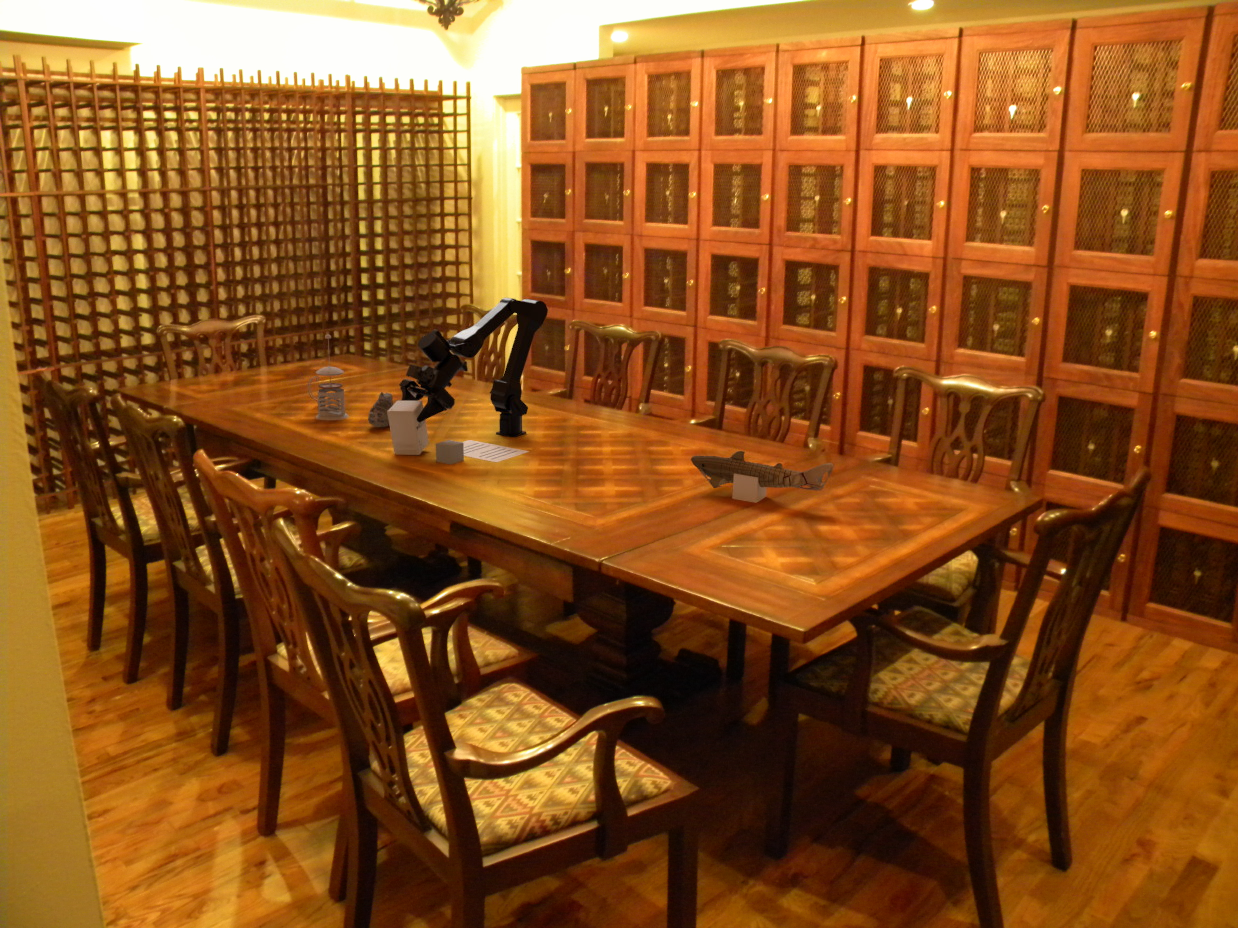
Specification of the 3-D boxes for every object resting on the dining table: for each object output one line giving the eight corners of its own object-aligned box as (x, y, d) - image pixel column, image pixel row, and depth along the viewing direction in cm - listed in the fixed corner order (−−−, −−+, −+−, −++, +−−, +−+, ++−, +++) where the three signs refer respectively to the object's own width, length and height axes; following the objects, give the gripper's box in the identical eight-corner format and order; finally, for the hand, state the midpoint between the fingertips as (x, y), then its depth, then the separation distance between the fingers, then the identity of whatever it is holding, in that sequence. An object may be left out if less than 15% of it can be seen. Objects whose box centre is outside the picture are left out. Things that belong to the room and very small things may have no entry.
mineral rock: (374, 432, 304) (373, 398, 301) (350, 426, 310) (349, 393, 308) (409, 425, 314) (408, 391, 311) (385, 419, 320) (384, 386, 317)
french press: (343, 420, 317) (339, 337, 310) (305, 419, 317) (300, 336, 311) (352, 413, 326) (348, 332, 320) (314, 412, 327) (310, 331, 320)
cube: (449, 458, 279) (448, 440, 277) (463, 461, 276) (463, 442, 275) (436, 462, 275) (435, 443, 273) (450, 465, 272) (450, 446, 271)
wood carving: (823, 516, 237) (827, 468, 234) (682, 491, 254) (684, 446, 251) (836, 506, 245) (840, 459, 242) (698, 482, 261) (700, 438, 258)
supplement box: (420, 455, 279) (412, 411, 273) (393, 454, 281) (385, 411, 275) (430, 443, 286) (422, 400, 280) (404, 442, 287) (396, 399, 281)
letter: (469, 440, 297) (469, 439, 297) (529, 452, 286) (529, 451, 286) (435, 450, 286) (435, 449, 286) (496, 463, 275) (496, 462, 275)
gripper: (405, 349, 286) (369, 393, 281) (445, 358, 273) (408, 404, 268) (429, 375, 293) (395, 419, 288) (470, 385, 280) (435, 431, 275)
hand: (407, 418), depth 280 cm, fingers closed on supplement box, 9 cm apart
